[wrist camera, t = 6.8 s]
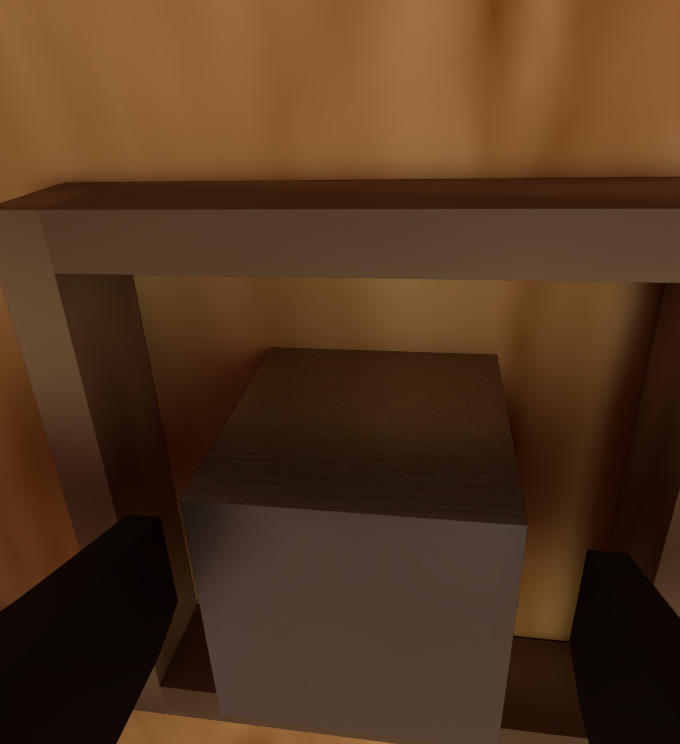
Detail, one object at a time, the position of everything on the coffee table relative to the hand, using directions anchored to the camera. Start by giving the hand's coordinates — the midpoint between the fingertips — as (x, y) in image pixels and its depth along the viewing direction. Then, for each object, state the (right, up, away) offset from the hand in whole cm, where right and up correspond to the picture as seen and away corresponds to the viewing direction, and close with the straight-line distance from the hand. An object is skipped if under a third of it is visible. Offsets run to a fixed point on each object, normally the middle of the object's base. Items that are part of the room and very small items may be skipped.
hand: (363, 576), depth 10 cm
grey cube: (0, +2, +3) cm, 3 cm away
